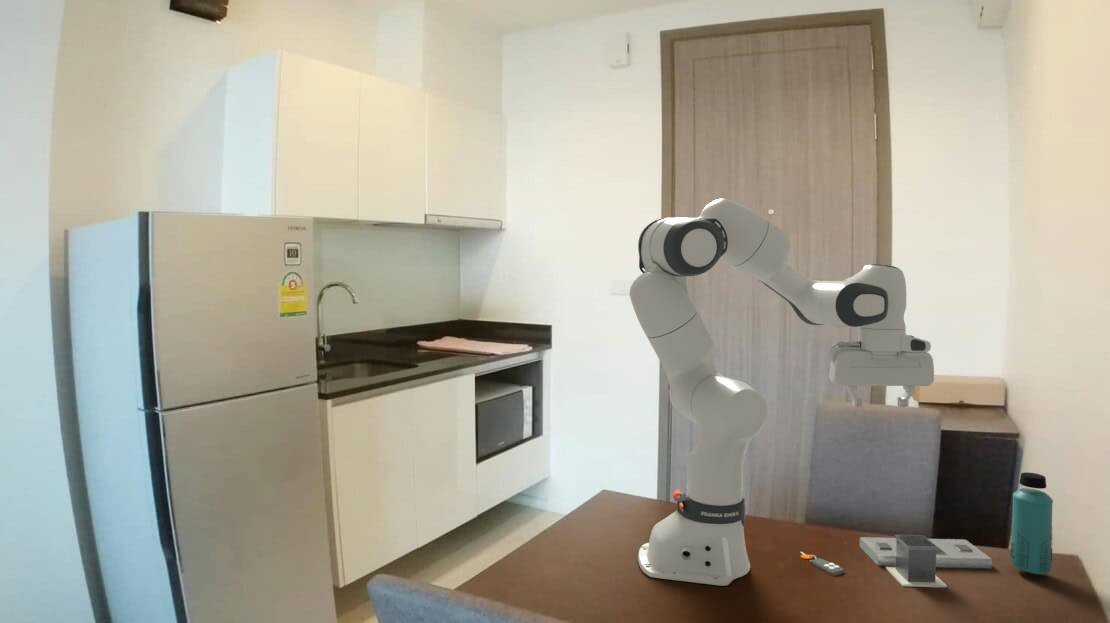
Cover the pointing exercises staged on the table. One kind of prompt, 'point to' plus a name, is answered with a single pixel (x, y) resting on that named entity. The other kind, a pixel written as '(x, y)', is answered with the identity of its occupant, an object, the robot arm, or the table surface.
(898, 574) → the pad
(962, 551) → the cabinet panel
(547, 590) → the table surface
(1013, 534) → the beverage bottle
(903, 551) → the dark grey box
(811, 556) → the key chain
